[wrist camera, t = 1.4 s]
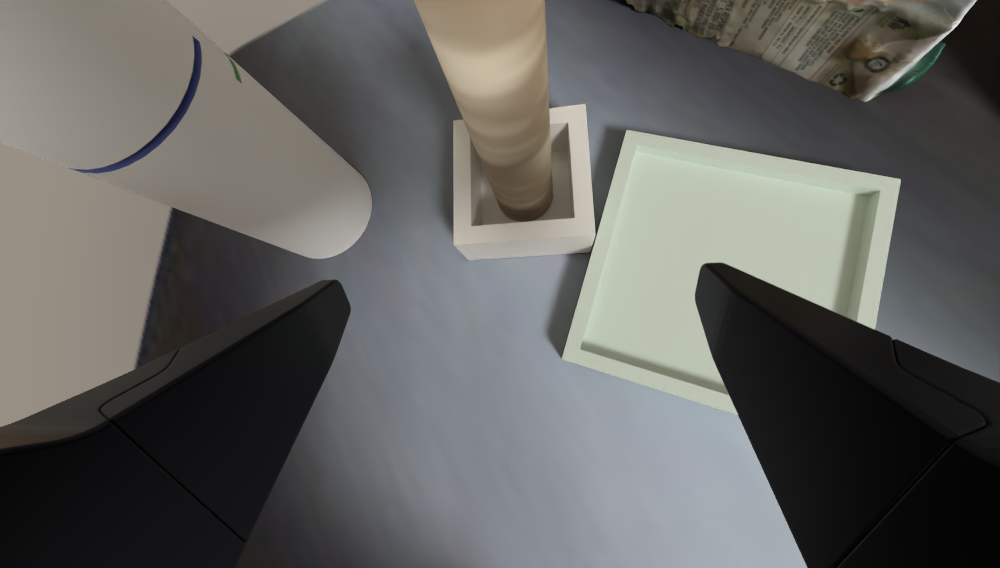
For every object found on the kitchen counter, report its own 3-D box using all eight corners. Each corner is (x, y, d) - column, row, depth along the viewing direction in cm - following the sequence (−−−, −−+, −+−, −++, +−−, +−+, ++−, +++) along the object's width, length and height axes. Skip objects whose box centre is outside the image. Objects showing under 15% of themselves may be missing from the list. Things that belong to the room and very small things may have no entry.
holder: (590, 252, 22) (595, 234, 19) (468, 260, 24) (453, 245, 20) (581, 139, 24) (585, 103, 20) (467, 152, 25) (453, 120, 22)
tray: (829, 443, 19) (853, 451, 17) (561, 358, 22) (561, 359, 20) (875, 192, 21) (901, 179, 19) (622, 144, 23) (626, 129, 22)
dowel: (520, 233, 23) (463, 56, 9) (486, 194, 24) (387, -22, 10) (564, 197, 23) (572, -34, 9) (528, 159, 24) (486, -105, 10)
